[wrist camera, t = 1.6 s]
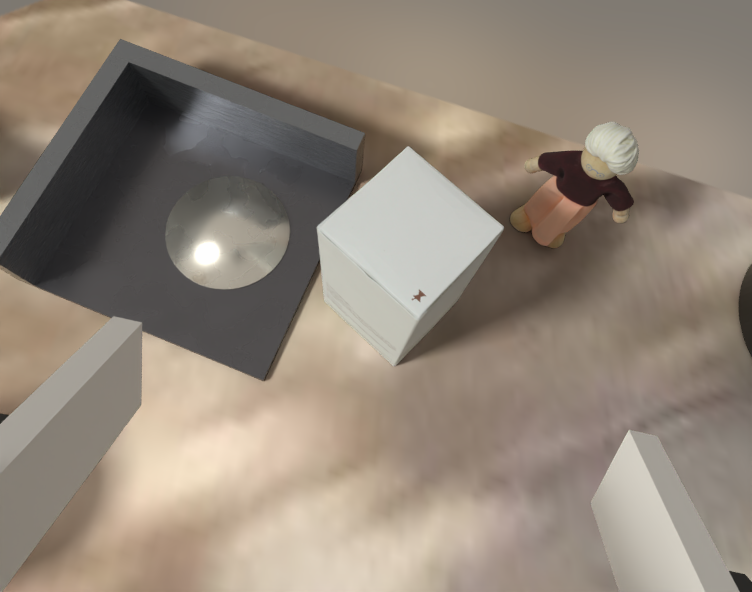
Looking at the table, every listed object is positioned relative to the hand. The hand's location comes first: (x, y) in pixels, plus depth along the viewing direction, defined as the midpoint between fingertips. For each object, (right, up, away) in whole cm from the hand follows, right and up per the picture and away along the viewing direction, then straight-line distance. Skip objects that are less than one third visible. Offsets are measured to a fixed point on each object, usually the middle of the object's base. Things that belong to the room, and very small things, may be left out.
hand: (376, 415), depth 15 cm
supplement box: (+1, +3, +26) cm, 27 cm away
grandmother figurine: (+13, +8, +29) cm, 33 cm away
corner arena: (-13, +9, +27) cm, 31 cm away
